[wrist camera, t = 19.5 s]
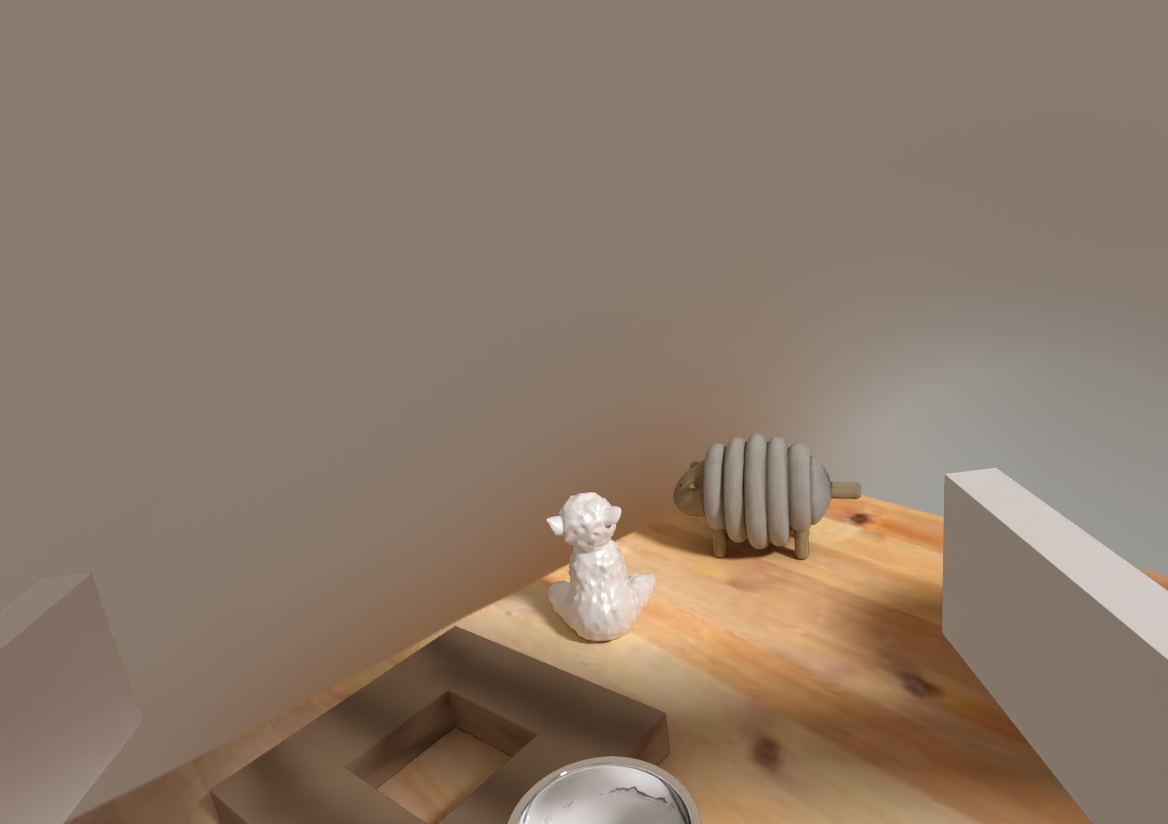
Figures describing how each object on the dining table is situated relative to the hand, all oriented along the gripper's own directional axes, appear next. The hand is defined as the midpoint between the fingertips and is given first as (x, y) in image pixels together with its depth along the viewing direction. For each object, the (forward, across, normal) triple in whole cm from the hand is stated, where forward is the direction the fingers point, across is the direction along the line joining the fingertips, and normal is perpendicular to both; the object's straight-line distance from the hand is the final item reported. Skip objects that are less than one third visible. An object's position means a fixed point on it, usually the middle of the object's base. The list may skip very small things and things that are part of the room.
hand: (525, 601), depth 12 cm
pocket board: (+29, -11, -30) cm, 43 cm away
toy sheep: (+56, +15, -30) cm, 65 cm away
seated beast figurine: (+47, 0, -30) cm, 56 cm away
